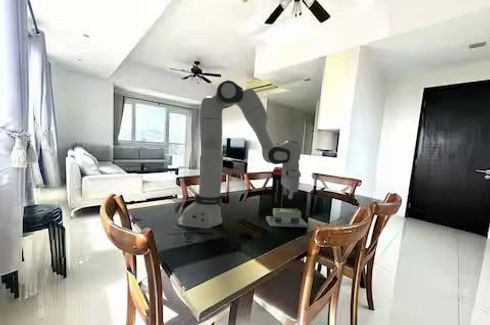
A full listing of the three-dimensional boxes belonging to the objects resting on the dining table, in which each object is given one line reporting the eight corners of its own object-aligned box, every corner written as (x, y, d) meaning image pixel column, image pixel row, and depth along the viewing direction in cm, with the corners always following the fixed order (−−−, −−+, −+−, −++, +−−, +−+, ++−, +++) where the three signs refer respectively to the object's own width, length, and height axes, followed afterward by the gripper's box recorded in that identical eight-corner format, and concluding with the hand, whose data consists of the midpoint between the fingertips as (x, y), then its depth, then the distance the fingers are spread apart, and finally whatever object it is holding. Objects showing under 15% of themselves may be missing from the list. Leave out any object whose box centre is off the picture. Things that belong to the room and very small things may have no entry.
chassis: (270, 226, 115) (271, 211, 114) (266, 218, 126) (267, 205, 125) (307, 227, 117) (308, 212, 116) (300, 219, 128) (301, 206, 127)
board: (275, 217, 117) (275, 211, 117) (272, 213, 123) (273, 208, 123) (300, 218, 119) (301, 212, 119) (297, 214, 125) (297, 209, 125)
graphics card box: (280, 214, 135) (284, 170, 133) (269, 213, 137) (272, 169, 134) (282, 206, 152) (285, 167, 149) (271, 205, 153) (274, 166, 151)
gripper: (279, 168, 129) (277, 191, 130) (289, 173, 108) (287, 201, 110) (290, 169, 129) (287, 192, 131) (302, 174, 109) (299, 201, 110)
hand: (287, 196), depth 120 cm, fingers open, 8 cm apart
